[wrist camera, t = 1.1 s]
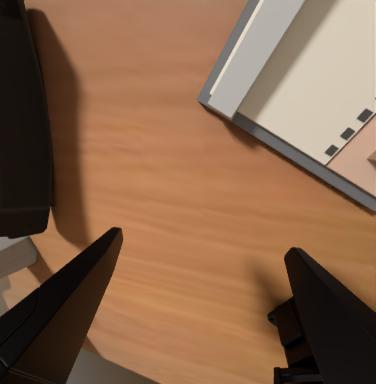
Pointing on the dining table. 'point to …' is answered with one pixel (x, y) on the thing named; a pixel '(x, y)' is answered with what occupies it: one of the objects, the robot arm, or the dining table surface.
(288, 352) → the robot arm
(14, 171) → the magazine
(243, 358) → the dining table surface
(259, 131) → the board
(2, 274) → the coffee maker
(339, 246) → the dining table surface
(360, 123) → the ticket
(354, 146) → the stub
